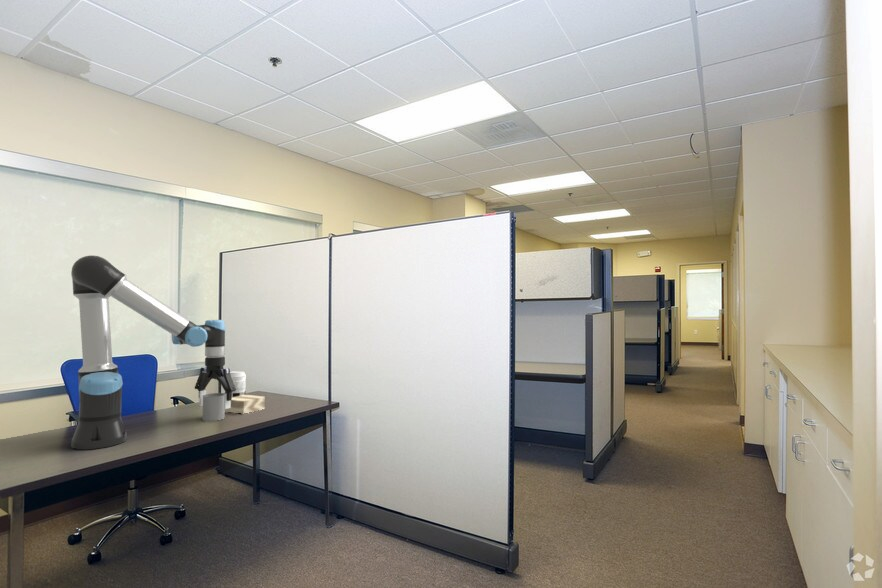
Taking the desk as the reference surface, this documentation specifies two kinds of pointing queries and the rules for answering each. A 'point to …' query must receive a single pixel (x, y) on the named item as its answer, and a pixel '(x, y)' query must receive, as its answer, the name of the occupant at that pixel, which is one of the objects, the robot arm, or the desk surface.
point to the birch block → (246, 404)
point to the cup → (213, 407)
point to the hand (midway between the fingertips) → (214, 407)
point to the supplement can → (239, 383)
